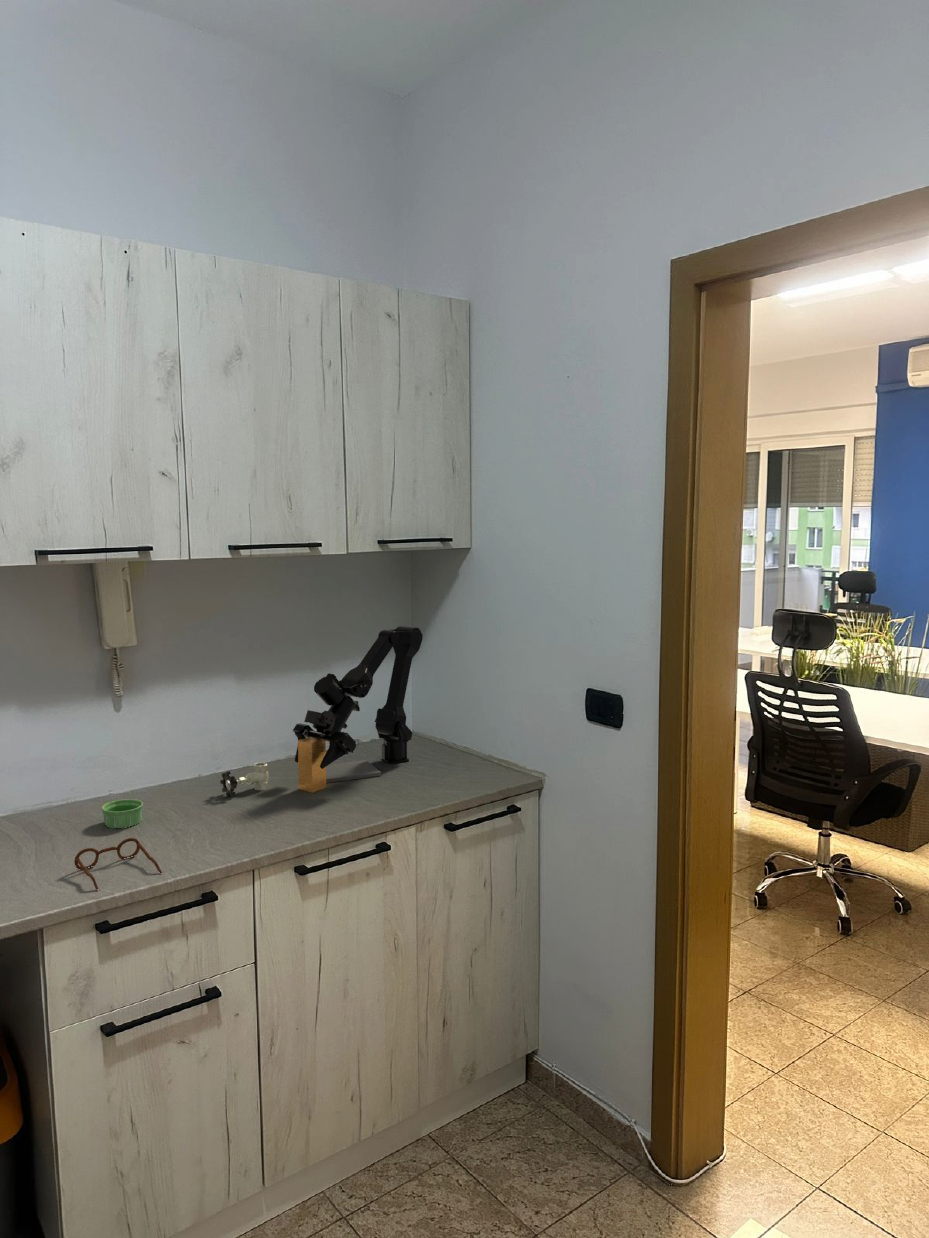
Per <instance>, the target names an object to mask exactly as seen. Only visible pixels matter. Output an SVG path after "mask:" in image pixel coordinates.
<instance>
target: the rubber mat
mask: <svg viewBox="0 0 929 1238" xmlns="http://www.w3.org/2000/svg"><path fill="white" fill-rule="evenodd" d="M374 777H382V771H380V770H378V768H377V767H376V766H374V765H373V764H371V763H370V762H369V761H367V759H364V760H356V761H348V762H340V763H339V762H338V763H331V764H329V765H328V766H326V784H328V783H336V782H344V781H352V780H359V779H366V778H374Z"/></svg>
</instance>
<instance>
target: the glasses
mask: <svg viewBox="0 0 929 1238" xmlns="http://www.w3.org/2000/svg"><path fill="white" fill-rule="evenodd" d="M129 842H134V843H135V844H136V849H135V850H134V852H133V853H131V854H130V855H127V856H125V855H122V854H121V849H122V846H124V845H125V844H126V843H129ZM140 850H141V852H142V853H143V855H145V857H146V858H147V859H148V860H149V861H150V862H152V863H153V864H154V867H156V869H157V871H159V872H160V873H163V871H162V870H161V868H160V866H159V864H158V862H157V860H156V859H155V858H154V857H152V856H151V855H150V854H149V852H148V851H147V850H146V849H145V848H144V847H143V845H142V844H141V843H140V841H139V840H138V839H137V838H136V837H135V838H134V837H129V838H126V839H123V840H122V841H121V842H120V843H119V844H118V845H117V846H109V847H106V848H103V849H100V850H97V849H96V848H93V847H87V848H83V849H81V850H80V851H79V852H78V853H77V854H76V855H75V857H74V861H73V863H74V866H75V868H76V869H78V870H79V869H83V870H82V871H83V872H84V874H85V875H86V876H87V877H89V878H90V879H91V881H92V883H93V885H94V888H95V890H96V889H99V886H98V884H97V882H96V880H95V877H94V875H93V874H92V873H91V872H89V870H88V869H86V868H88V867H91V866H94V867H95V866H96V865H97V863H98V861H99V858H100V855H101V854H104V853H106V852H111V851H116V853H117V857H118V858H119V859H120V860H123V859H124V858H127V857H131V856H134V855H136V856H137V855H138V854H139V852H140ZM87 852H93V853H94V854H95V857H94V861H93V862H92V863H91V864H90V865H87V866H85V865H84V864H83V862H82V861H81V859H80V857H81V855H84V854H85V853H87ZM134 857H135V856H134ZM124 860H125V859H124ZM159 872H158V873H159ZM160 873H159V874H160Z"/></svg>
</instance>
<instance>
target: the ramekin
mask: <svg viewBox="0 0 929 1238" xmlns="http://www.w3.org/2000/svg"><path fill="white" fill-rule="evenodd" d="M143 807H144V802H143V801H141V800H139V799H135V798H127V799H126V798H125V799H123V798H122V799H117V800H113V801H109V802H107V803H105V804H103V805H102V806H101V810H102V816H103V821H104V822H103V823H104V826H105V825H106V826H107V827H106V826H105V827H106V828H108V827H110V828H109V829H113V828H122V829H126V828H125V827H129V826H133V825H135V826H137V825H139V824H140V823H141V822H142V815H143ZM140 821H141V822H140ZM139 822H140V823H139ZM138 823H139V824H138ZM136 824H137V825H136ZM133 827H134V826H133ZM129 828H130V827H129Z"/></svg>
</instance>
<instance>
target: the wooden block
mask: <svg viewBox="0 0 929 1238" xmlns="http://www.w3.org/2000/svg"><path fill="white" fill-rule="evenodd" d="M326 742H327V741H325V739H321V738H316V737H309V738H305V739H301V740H298V739H297V746H298V763H297V764H298V767H297V768H298V790H302V791H305V792H309V793H317V792H318V791H321V790H324V789H326V788H327V783H326V767H325V768H323V769H321V768H320V764H321V762H322V760H323V758H324V756H325V754H326V752H327V751H326V750H327V749H326V748H327V747H326V744H327V743H326Z"/></svg>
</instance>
